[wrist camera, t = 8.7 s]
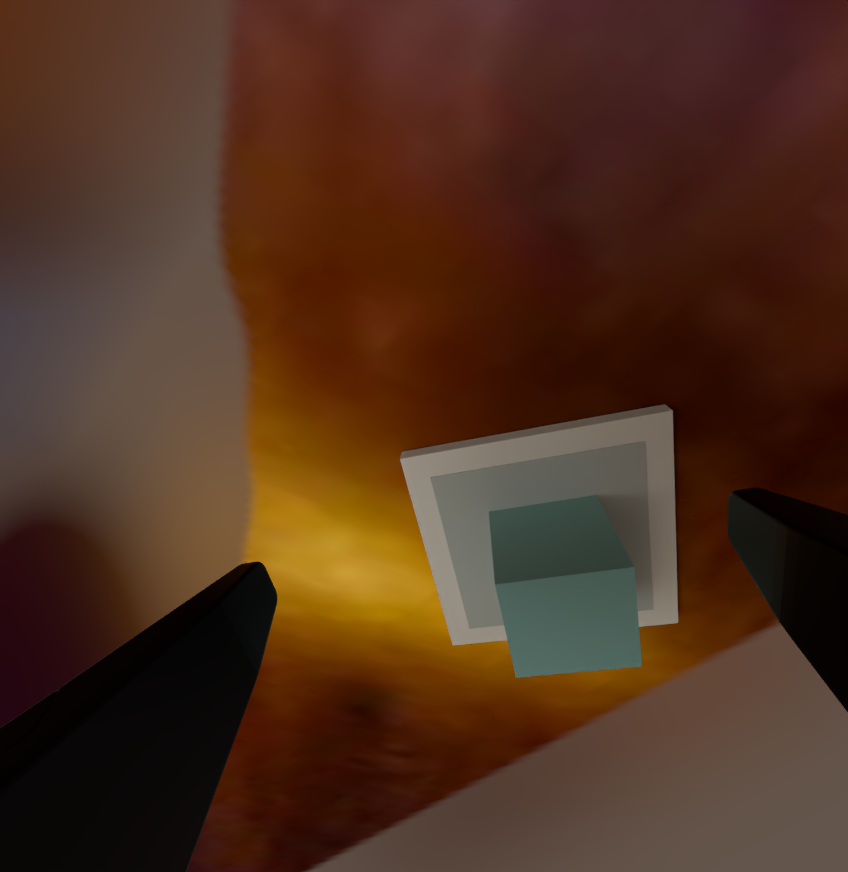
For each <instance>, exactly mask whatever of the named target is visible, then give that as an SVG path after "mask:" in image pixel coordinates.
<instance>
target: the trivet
mask: <svg viewBox="0 0 848 872" xmlns="http://www.w3.org/2000/svg"><path fill="white" fill-rule="evenodd" d="M400 461H401V465H402V468H403V472H404V475H405V479H406V482H407V486H408V490H409V493H410V497H411V500H412V504H413V507H414V511H415V514H416V518H417V521H418V525H419V528H420V532H421V535H422V539H423V542H424V546H425V549H426V553H427V556H428V560H429V563H430V567H431V571H432V574H433V578H434V581H435V585H436V588H437V592H438V595H439V599H440V602H441V606H442V609H443V613H444V616H445V620H446V623H447V627H448V630H449V634H450V637H451V641H452V644H453V645H462V644H472V643H482V642H492V641H502V640H507V636H506V631H505V627H504V622H503V618H502V614H501V609H500V605H499V600H498V596H497V592H496V587H495V580H494V568H493V557H492V545H491V534H490V522H489V511H495V510H502V509H508V508H515V507H521V506H528V505H534V504H540V503H547V502H553V501H560V500H566V499H573V498H579V497H585V496H592V495H596V496H597V498H598V500H599V501H600V503H601V505H602V507H603V509H604V511H605V513H606V515H607V516H608V518H609V520H610V522H611V524H612V526H613V528H614V530H615V532H616V533H617V535H618V537H619V539H620V541H621V543H622V545H623V547H624V548H625V550H626V552H627V554H628V556H629V558H630V560H631V562H632V564H633V565H634V569H635V582H636V595H637V608H638V621H639V627H642V626H652V625H662V624H672V623H678V597H677V557H676V518H675V478H674V439H673V410H672V409H670V408H669V407H668V406H666V405H665V404H664V405H658V406H653V407H647V408H642V409H636V410H630V411H625V412H619V413H614V414H608V415H603V416H597V417H592V418H586V419H581V420H575V421H570V422H564V423H558V424H553V425H547V426H542V427H536V428H531V429H525V430H520V431H514V432H509V433H503V434H497V435H492V436H486V437H481V438H475V439H470V440H464V441H459V442H453V443H448V444H442V445H436V446H431V447H425V448H420V449H414V450H409V451H403V452H402V454H401V457H400Z"/></svg>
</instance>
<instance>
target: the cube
mask: <svg viewBox="0 0 848 872" xmlns="http://www.w3.org/2000/svg"><path fill="white" fill-rule="evenodd" d="M489 522H490V534H491V545H492V557H493V568H494V580H495V587H496V592H497V596H498V600H499V605H500V609H501V614H502V618H503V622H504V627H505V631H506V636H507V640H508V644H509V649H510V653H511V658H512V662H513V666H514V671H515V675H516V678H517V677H528V676H539V675H550V674H562V673H573V672H584V671H596V670H607V669H618V668H630V667H641V666H642V660H641V647H640V634H639V621H638V608H637V595H636V582H635V569H634V565H633V564H632V562H631V560H630V558H629V556H628V554H627V552H626V550H625V548H624V547H623V545H622V543H621V541H620V539H619V537H618V535H617V533H616V532H615V530H614V528H613V526H612V524H611V522H610V520H609V518H608V516H607V515H606V513H605V511H604V509H603V507H602V505H601V503H600V501H599V500H598V498H597V496H596V495H592V496H585V497H579V498H573V499H566V500H560V501H553V502H547V503H540V504H534V505H528V506H521V507H515V508H508V509H502V510H495V511H489Z"/></svg>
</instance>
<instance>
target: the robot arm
mask: <svg viewBox="0 0 848 872" xmlns="http://www.w3.org/2000/svg"><path fill="white" fill-rule="evenodd" d="M728 535H729V539H730V541H731V543H732V545H733V547H734V549H735V550H736V552H737V554H738V555H739V557H740V558H741V560H742V562H743V563H744V565H745V567H746V568H747V570H748V572H749V573H750V575H751V577H752V578H753V580H754V582H755V583H756V585H757V587H758V588H759V590H760V591H761V593H762V595H763V596H764V598H765V600H766V601H767V603H768V605H769V606H770V608H771V610H772V611H773V613H774V614H775V616H776V617H777V619H778V620H779V622H780V623H781V625H782V626H783V627H784V628H785V630H786V632H787V633H788V634H789V636H790V637H791V638H792V640H793V641H794V642H795V644H796V645H797V646H798V648H799V649H800V650H801V651H802V653H803V654H804V655H805V657H806V658H807V659H808V661H809V662H810V663H811V665H812V666H813V667H814V669H815V670H816V671H817V673H818V674H819V675H820V677H821V678H822V679H823V680H824V682H825V683H826V684H827V686H828V687H829V688H830V690H831V691H832V692H833V693H834V695H835V696H836V698H837V699H838V700H839V702H840V703H841V704H842V705H843V707H844V708H845V709H846V711H847V712H848V515H846V514H843V513H840V512H837V511H833V510H830V509H827V508H824V507H820V506H817V505H814V504H811V503H807V502H804V501H801V500H797V499H794V498H791V497H788V496H784V495H781V494H778V493H775V492H771V491H768V490H765V489H762V488H749V489H742V490H736V491H733V492H732V493H731V494H730V496H729V500H728ZM276 605H277V593H276V590H275V588H274V585H273V583H272V581H271V579H270V577H269V575H268V572H267V570H266V568H265V566H264V565H263V564H262V563H261V562H251V563H244V564H241V565H239V566H237V567H236V568H234V569H233V570H232V571H230V572H229V573H227V574H226V575H224V576H223V577H221V578H220V579H218V580H217V581H215V582H214V583H213V584H211V585H210V586H208V587H207V588H205V589H204V590H202V591H201V592H199V593H198V594H196V595H195V596H194V597H192V598H191V599H189V600H188V601H186V602H185V603H183V604H182V605H180V606H179V607H177V608H176V609H174V610H173V611H172V612H170V613H169V614H167V615H166V616H164V617H163V618H161V619H160V620H158V621H157V622H156V623H154V624H153V625H151V626H150V627H148V628H147V629H145V630H144V631H142V632H141V633H139V634H138V635H137V636H135V637H134V638H132V639H131V640H129V641H128V642H126V643H125V644H123V645H122V646H120V647H119V648H117V649H116V650H114V651H113V652H112V653H110V654H109V655H107V656H106V657H104V658H103V659H101V660H100V661H98V662H97V663H95V664H94V665H93V666H91V667H90V668H88V669H87V670H85V671H84V672H82V673H81V674H79V675H78V676H76V677H75V678H73V679H72V680H71V681H69V682H68V683H66V684H65V685H63V686H62V687H61V688H60V689H59V691H55V692H53V693H51V694H50V695H48V696H47V697H46V698H44V699H43V700H41V701H40V702H38V703H37V704H35V705H34V706H33V707H31V708H30V709H28V710H26V711H25V712H24V713H22V714H21V715H19V716H17V717H16V718H14V719H13V720H12V721H10V722H9V723H7V724H6V725H4V726H3V727H1V728H0V872H186V871H187V869H188V866H189V863H190V860H191V858H192V855H193V852H194V849H195V847H196V844H197V841H198V838H199V836H200V833H201V830H202V827H203V825H204V822H205V819H206V817H207V814H208V811H209V808H210V806H211V803H212V800H213V797H214V795H215V792H216V789H217V786H218V784H219V781H220V778H221V775H222V773H223V770H224V767H225V764H226V762H227V759H228V756H229V753H230V751H231V748H232V745H233V742H234V740H235V737H236V734H237V732H238V729H239V726H240V723H241V721H242V718H243V715H244V712H245V710H246V707H247V704H248V701H249V699H250V696H251V693H252V690H253V688H254V685H255V682H256V679H257V676H258V673H259V669H260V666H261V662H262V659H263V655H264V651H265V647H266V643H267V639H268V636H269V632H270V628H271V624H272V620H273V616H274V613H275V609H276Z"/></svg>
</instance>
